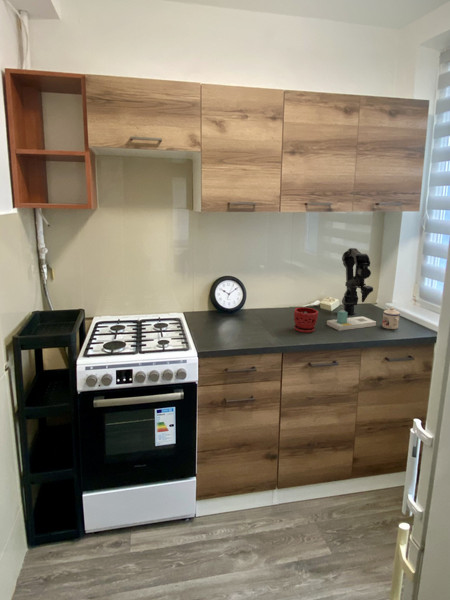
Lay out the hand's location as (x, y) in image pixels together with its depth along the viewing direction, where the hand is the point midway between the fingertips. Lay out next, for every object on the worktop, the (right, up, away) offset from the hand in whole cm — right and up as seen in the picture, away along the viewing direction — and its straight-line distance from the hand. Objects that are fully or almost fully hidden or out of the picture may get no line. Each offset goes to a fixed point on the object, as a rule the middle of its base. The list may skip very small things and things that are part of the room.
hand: (357, 300), depth 253 cm
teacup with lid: (+17, -16, -9) cm, 25 cm away
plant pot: (-35, -17, -15) cm, 41 cm away
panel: (-5, -15, -5) cm, 16 cm away
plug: (-12, -15, -7) cm, 21 cm away
